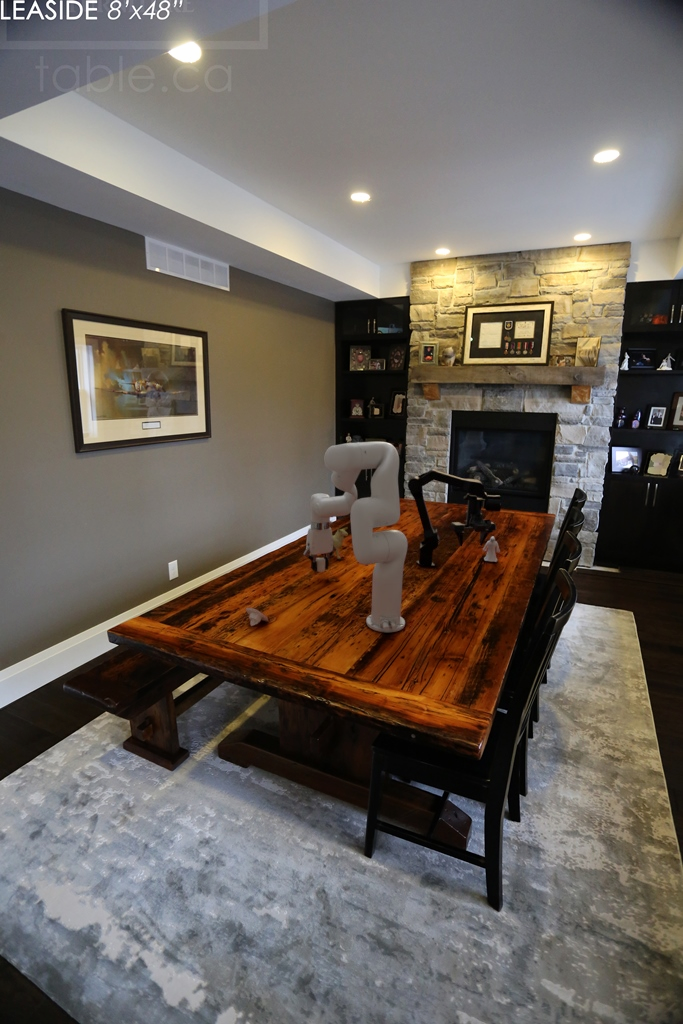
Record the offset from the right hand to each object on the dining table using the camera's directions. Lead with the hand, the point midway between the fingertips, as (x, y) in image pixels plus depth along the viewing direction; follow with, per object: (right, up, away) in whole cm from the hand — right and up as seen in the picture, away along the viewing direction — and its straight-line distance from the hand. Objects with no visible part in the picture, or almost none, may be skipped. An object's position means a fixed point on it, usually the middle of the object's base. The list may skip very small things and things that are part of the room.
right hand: (471, 545), depth 213 cm
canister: (-64, -9, -14) cm, 66 cm away
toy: (-61, -6, +11) cm, 62 cm away
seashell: (-83, -22, -52) cm, 100 cm away
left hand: (-64, -8, -14) cm, 66 cm away
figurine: (+12, -7, +12) cm, 18 cm away
